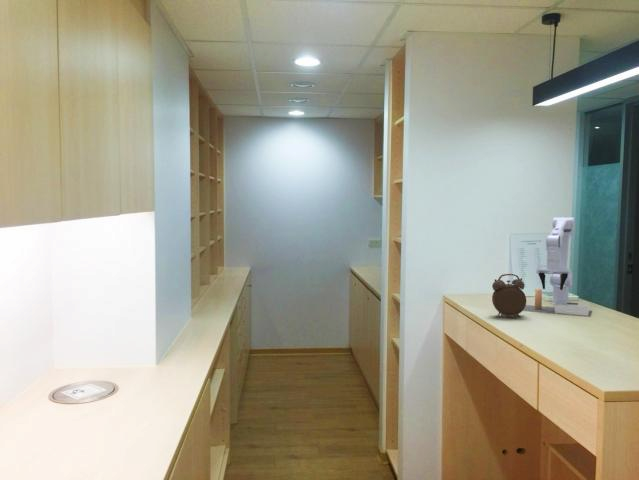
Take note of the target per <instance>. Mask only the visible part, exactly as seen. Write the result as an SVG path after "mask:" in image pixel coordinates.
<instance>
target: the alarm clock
mask: <svg viewBox="0 0 639 480" xmlns="http://www.w3.org/2000/svg"><path fill="white" fill-rule="evenodd" d="M505 276H513V277H514V276H515V277H516V278H517V279H516V278H515V279H514V280H512V281H511V280H506V282H507V283H505V281H503V280H502V277H505ZM510 282H511V284H509V283H510ZM525 285H526V284H525V283H524V281H523V278H520V277H519V276H518V275H517V274H514V273H503V274H501V275H500V276H499V277H498V278H497V279H496V278H495V279H494V281H493V283H492V285H491V286H492V289H493V292H492V296H491V300H492V301H491V302H492V304H493V306H494V308H495V310H496V311H497V312H498V314H497V317H499V316H500V317H499V318H502V317H503V316H506V317H515V316H517V317H518V318H520V314H521V313H522V312H524V311H523V310H524V308H525V306H526V305H527V296H526V293H524V288H525Z"/></svg>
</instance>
